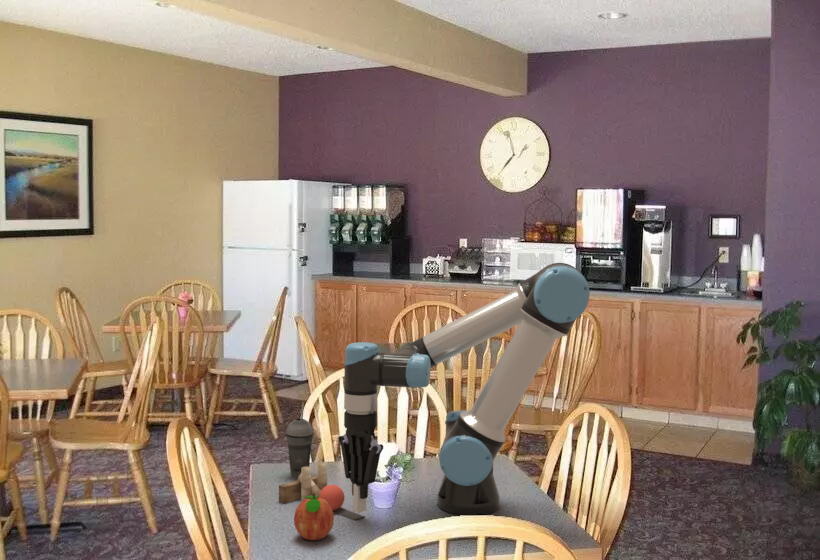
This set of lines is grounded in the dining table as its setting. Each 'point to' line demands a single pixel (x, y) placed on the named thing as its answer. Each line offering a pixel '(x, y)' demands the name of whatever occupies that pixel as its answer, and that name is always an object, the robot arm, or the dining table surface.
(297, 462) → the beverage cup
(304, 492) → the pin
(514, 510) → the dining table surface
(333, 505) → the ball
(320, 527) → the fruit
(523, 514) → the dining table surface
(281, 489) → the back rail
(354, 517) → the dark grey flat bar
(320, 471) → the pin
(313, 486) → the pin front
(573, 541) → the dining table surface
